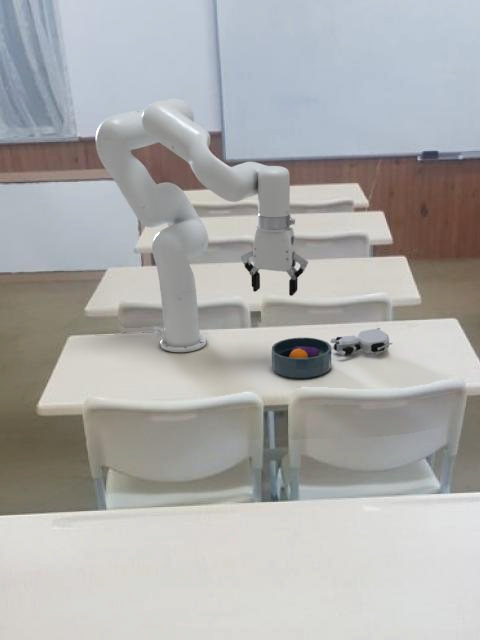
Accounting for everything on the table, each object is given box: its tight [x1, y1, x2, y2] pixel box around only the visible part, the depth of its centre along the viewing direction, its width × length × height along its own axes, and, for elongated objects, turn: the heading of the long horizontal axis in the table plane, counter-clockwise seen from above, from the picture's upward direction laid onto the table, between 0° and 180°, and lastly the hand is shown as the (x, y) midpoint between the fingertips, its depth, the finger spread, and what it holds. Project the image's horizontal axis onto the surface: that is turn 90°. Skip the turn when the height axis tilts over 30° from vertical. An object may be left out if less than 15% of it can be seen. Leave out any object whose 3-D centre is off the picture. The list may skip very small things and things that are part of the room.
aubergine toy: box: [291, 346, 324, 358], centre depth 219 cm, size 9×4×4 cm
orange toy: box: [289, 348, 308, 358], centre depth 216 cm, size 5×5×6 cm
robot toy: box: [330, 327, 393, 357], centre depth 226 cm, size 12×4×15 cm
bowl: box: [271, 337, 332, 380], centre depth 217 cm, size 15×15×6 cm
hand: (274, 292), depth 214 cm, fingers open, 9 cm apart
